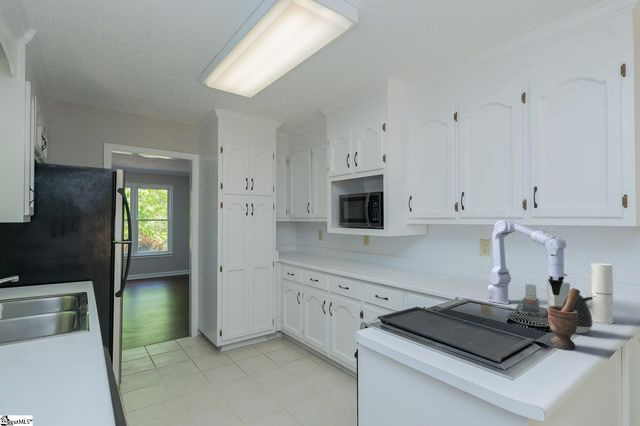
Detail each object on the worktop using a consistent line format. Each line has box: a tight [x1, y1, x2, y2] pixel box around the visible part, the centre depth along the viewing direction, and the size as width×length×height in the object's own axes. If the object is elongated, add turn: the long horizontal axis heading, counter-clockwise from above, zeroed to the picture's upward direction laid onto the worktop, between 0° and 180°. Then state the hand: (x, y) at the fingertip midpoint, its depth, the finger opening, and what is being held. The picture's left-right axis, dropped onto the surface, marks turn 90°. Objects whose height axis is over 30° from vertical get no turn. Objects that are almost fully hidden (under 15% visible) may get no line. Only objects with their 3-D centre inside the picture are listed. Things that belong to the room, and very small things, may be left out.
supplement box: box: [546, 279, 571, 307], centre depth 167 cm, size 7×7×13 cm
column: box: [525, 283, 538, 301], centre depth 157 cm, size 4×4×8 cm
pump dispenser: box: [562, 294, 593, 335], centre depth 130 cm, size 10×10×15 cm
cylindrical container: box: [590, 262, 614, 325], centre depth 143 cm, size 7×7×25 cm
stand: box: [514, 296, 548, 317], centre depth 157 cm, size 12×12×6 cm
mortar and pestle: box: [547, 287, 581, 351], centre depth 117 cm, size 12×9×20 cm
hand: (556, 293), depth 151 cm, fingers open, 7 cm apart
